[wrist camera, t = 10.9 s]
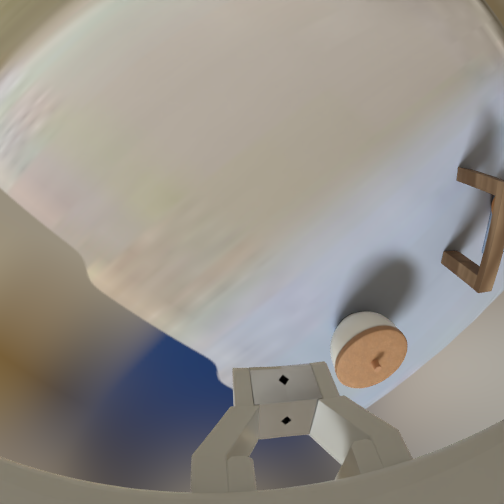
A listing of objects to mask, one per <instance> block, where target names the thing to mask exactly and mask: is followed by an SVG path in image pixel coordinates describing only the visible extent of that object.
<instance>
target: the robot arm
mask: <svg viewBox="0 0 504 504" xmlns="http://www.w3.org/2000/svg"><path fill="white" fill-rule="evenodd" d="M233 400H234V406H233V407H230V408H229V409H228V411H227V412H226V413H225V415H224V416H223V417H222V418H221V420H220V421H219V422H218V424H217V425H216V426H215V427H214V429H213V430H212V431H211V432H210V434H209V435H208V436H207V437H206V439H205V440H204V441H203V443H202V444H201V445H200V446H199V447H198V449H197V450H196V451H195V452H194V454H193V455H192V461H191V493H186V492H166V491H152V490H142V489H132V488H125V487H118V486H111V485H105V484H99V483H94V482H89V481H84V480H79V479H74V478H69V477H66V476H62V475H58V474H54V473H50V472H46V471H43V470H39V469H36V468H33V467H29V466H26V465H23V464H20V463H17V462H14V461H11V460H8V459H5V458H3V457H0V504H504V420H502V421H500V422H498V423H496V424H495V425H492V426H490V427H489V428H486V429H484V430H482V431H480V432H479V433H476V434H474V435H472V436H470V437H468V438H466V439H463V440H461V441H458V442H456V443H454V444H451V445H449V446H447V447H444V448H442V449H439V450H437V451H434V452H432V453H429V454H426V455H423V456H421V457H418V458H415V459H413V458H412V456H411V454H410V452H409V450H408V448H407V447H406V444H405V442H404V440H403V438H402V436H401V434H400V432H399V430H398V429H396V428H394V427H393V426H391V425H389V424H388V423H386V422H385V421H383V420H381V419H380V418H378V417H377V416H375V415H374V414H372V413H370V412H369V411H367V410H366V409H364V408H363V407H361V406H359V405H358V404H356V403H355V402H353V401H352V400H350V399H349V398H347V397H346V396H340V395H339V393H338V390H337V388H336V385H335V383H334V381H333V378H332V376H331V373H330V371H329V369H328V366H327V364H326V363H325V362H316V363H309V364H298V365H288V366H277V367H251V368H233ZM306 434H310V436H311V437H312V438H313V439H314V440H315V441H316V442H317V443H318V444H319V445H320V446H322V447H323V448H324V449H325V450H326V451H327V452H328V453H330V455H331V456H333V458H335V459H336V460H337V461H338V462H339V463H340V464H341V465H342V466H341V468H340V470H339V472H338V474H337V476H336V478H335V480H332V481H328V482H322V483H316V484H310V485H304V486H298V487H290V488H282V489H273V490H262V491H257V486H256V479H255V472H254V465H253V459H251V458H250V457H249V455H250V454H251V452H252V450H253V448H254V447H255V445H256V443H257V441H258V439H268V438H276V437H284V436H296V435H306Z"/></svg>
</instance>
